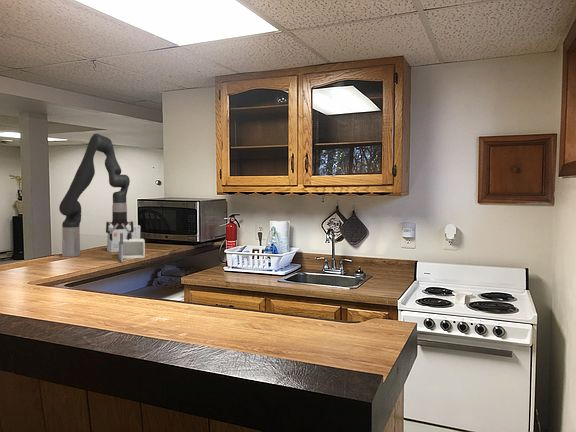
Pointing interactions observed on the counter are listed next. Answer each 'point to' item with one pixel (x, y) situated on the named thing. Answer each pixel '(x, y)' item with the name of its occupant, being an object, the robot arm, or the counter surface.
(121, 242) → the front flap
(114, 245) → the skincare box
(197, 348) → the counter surface
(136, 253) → the carton
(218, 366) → the counter surface
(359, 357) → the counter surface
